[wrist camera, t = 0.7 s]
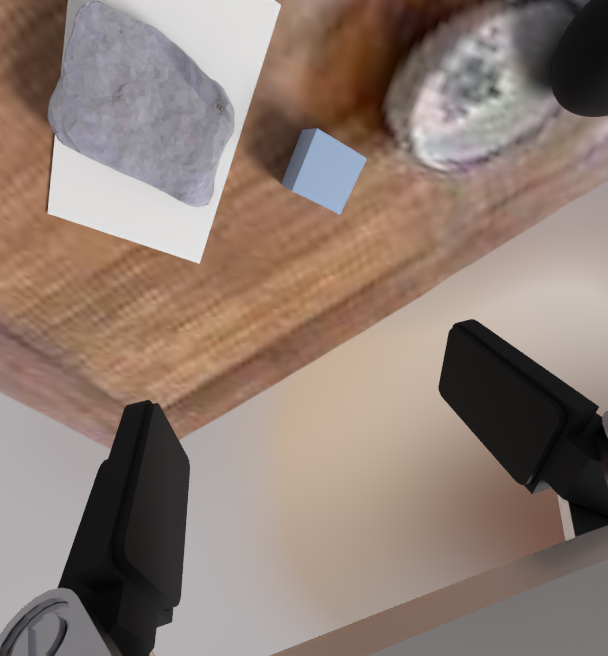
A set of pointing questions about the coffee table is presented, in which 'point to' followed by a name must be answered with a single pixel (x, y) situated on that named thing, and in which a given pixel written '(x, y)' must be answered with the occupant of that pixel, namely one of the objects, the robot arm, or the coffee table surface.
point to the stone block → (140, 105)
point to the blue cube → (323, 169)
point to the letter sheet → (239, 84)
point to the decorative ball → (583, 63)
